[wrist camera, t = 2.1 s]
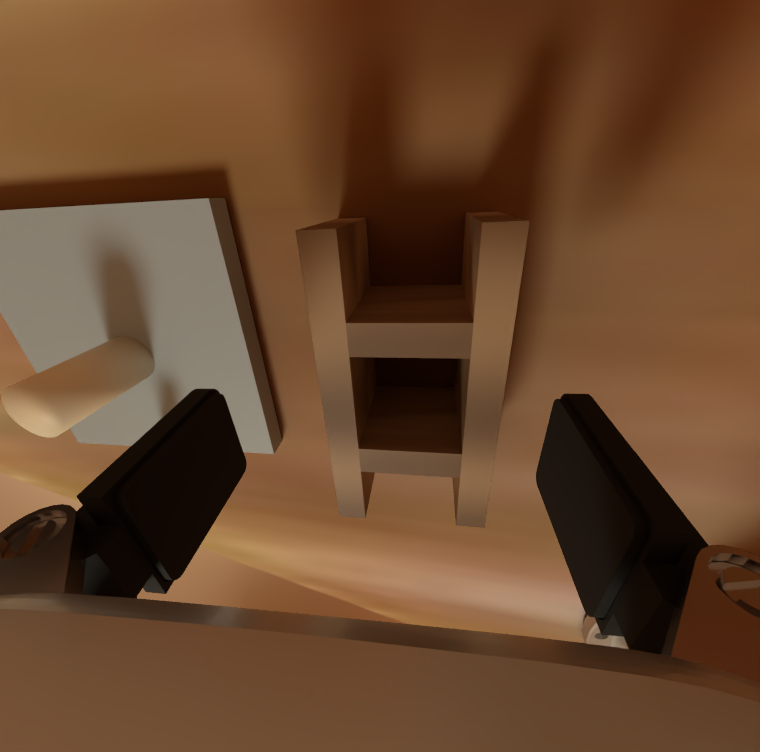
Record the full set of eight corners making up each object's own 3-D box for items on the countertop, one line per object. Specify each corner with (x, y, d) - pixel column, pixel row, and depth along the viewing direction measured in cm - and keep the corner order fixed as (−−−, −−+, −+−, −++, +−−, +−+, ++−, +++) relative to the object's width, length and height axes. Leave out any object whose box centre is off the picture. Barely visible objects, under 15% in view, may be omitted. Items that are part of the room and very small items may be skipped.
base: (224, 197, 14) (98, 201, 9) (282, 440, 20) (228, 529, 15) (-28, 212, 16) (-259, 222, 11) (95, 431, 22) (-13, 507, 17)
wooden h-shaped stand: (337, 218, 14) (295, 230, 10) (497, 211, 13) (529, 220, 9) (359, 444, 20) (339, 515, 15) (472, 449, 19) (484, 527, 14)
